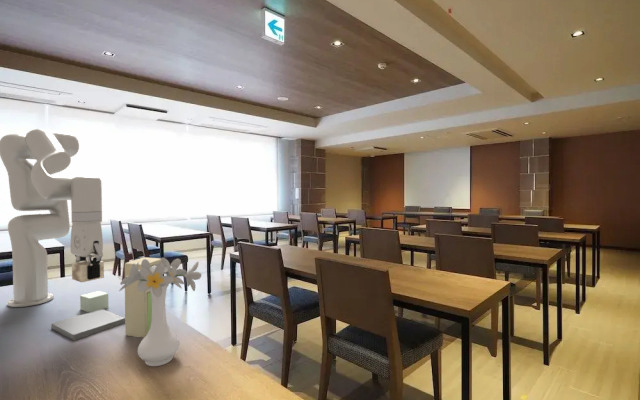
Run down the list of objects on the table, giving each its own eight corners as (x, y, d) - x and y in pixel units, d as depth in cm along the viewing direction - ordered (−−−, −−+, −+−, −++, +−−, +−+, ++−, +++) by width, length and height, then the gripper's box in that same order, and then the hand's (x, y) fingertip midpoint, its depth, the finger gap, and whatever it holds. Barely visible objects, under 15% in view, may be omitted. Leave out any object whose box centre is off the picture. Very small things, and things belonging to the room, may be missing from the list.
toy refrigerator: (147, 338, 94) (146, 264, 93) (124, 335, 95) (123, 262, 95) (165, 326, 102) (165, 258, 101) (144, 324, 103) (143, 257, 102)
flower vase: (208, 351, 87) (208, 256, 86) (136, 385, 72) (135, 270, 71) (179, 337, 95) (179, 250, 94) (108, 366, 80) (107, 262, 78)
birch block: (72, 279, 100) (71, 262, 100) (94, 274, 105) (93, 259, 105) (81, 282, 97) (81, 265, 97) (103, 277, 102) (103, 261, 102)
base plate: (51, 328, 100) (51, 323, 100) (101, 313, 112) (101, 308, 112) (73, 340, 92) (73, 334, 92) (125, 322, 104) (125, 318, 104)
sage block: (80, 309, 115) (80, 295, 115) (99, 304, 120) (98, 290, 120) (89, 313, 112) (89, 298, 112) (108, 307, 117) (108, 293, 117)
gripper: (59, 216, 102) (60, 275, 103) (87, 220, 93) (88, 284, 94) (86, 215, 108) (87, 270, 109) (115, 218, 99) (116, 278, 100)
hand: (88, 276), depth 101 cm, fingers closed on birch block, 6 cm apart
